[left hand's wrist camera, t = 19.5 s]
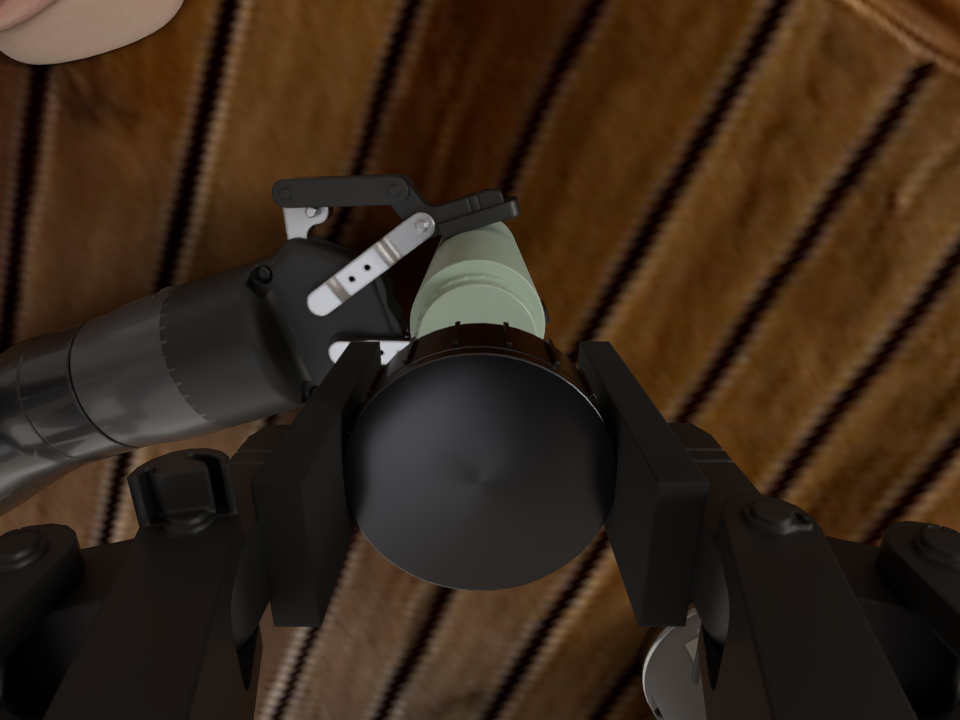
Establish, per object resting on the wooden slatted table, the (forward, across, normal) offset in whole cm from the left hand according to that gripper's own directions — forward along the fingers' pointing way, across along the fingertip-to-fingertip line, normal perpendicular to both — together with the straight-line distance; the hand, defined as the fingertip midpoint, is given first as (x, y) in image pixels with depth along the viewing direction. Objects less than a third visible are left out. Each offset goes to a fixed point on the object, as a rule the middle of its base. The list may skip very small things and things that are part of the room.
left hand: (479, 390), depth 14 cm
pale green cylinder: (+19, 0, -1) cm, 19 cm away
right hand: (+13, -2, -1) cm, 13 cm away
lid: (-4, 0, 0) cm, 4 cm away
